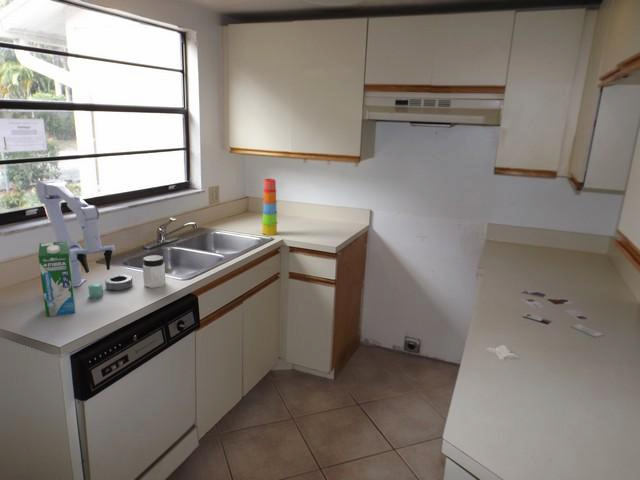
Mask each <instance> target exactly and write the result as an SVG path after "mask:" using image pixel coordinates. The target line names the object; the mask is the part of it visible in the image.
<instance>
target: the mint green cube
mask: <svg viewBox="0 0 640 480" xmlns="http://www.w3.org/2000/svg"><path fill="white" fill-rule="evenodd" d="M87 287H88V295H89V296H88V297H89V298H90V299H101V298H103V296H104V291H103V290H104V289H103V283H98V282H97V283H96V282H95V283H91V284H89V285H88V286H87Z"/></svg>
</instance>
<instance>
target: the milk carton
mask: <svg viewBox="0 0 640 480" xmlns="http://www.w3.org/2000/svg"><path fill="white" fill-rule="evenodd" d="M38 263H39V271H40V278H41V286H42V294H43V299H44V300H43V301H44V310H45V317H46V318H47V317H55V316H62V315H67V314H69V315H70V314H75V313H76V298H75V297H76V296H75V288H74V287H73V278H72V269H71V261H70V252H69V243H68V241H63V242H58V241H53V242H52V241H51V242H39V245H38Z"/></svg>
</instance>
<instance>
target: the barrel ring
mask: <svg viewBox="0 0 640 480" xmlns="http://www.w3.org/2000/svg"><path fill="white" fill-rule="evenodd" d="M104 282H105V288H106V290H108V291H111V292H121V291H125V290H129V289H131V288H132V287H133V277H132V276H131V275H128V274H117V275H110V276H109V277H107V278H106V279H105V280H104Z"/></svg>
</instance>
